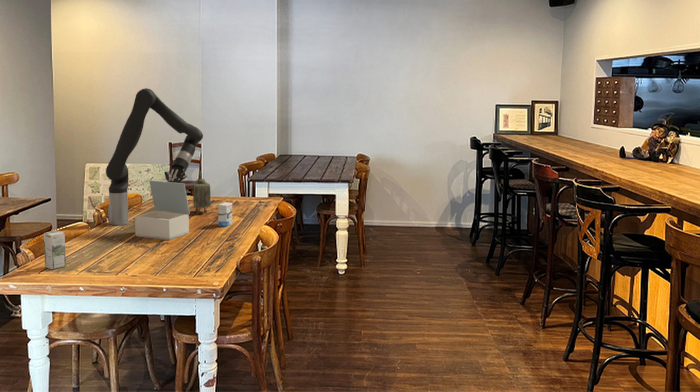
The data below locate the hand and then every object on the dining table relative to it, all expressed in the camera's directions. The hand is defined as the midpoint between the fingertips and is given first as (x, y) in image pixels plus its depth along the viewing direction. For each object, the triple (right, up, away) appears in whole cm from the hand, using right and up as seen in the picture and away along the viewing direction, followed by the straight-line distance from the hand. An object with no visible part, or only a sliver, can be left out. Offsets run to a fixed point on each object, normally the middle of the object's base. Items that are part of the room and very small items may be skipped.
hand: (168, 188), depth 308 cm
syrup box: (-28, -33, -60) cm, 74 cm away
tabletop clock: (+3, -14, +55) cm, 57 cm away
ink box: (+24, -20, +24) cm, 39 cm away
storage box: (-3, -23, -2) cm, 24 cm away
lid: (0, -5, +1) cm, 5 cm away
